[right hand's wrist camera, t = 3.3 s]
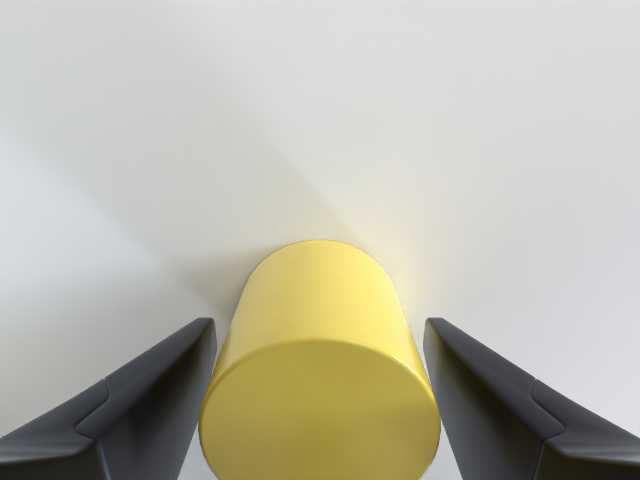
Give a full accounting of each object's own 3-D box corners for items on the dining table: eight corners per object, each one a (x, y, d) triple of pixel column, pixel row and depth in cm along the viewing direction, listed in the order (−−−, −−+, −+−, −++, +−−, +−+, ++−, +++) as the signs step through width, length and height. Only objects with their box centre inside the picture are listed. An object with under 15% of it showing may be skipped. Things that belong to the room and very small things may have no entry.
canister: (428, 280, 12) (491, 397, 8) (351, 395, 14) (367, 547, 9) (280, 210, 11) (255, 296, 7) (217, 341, 13) (163, 479, 8)
